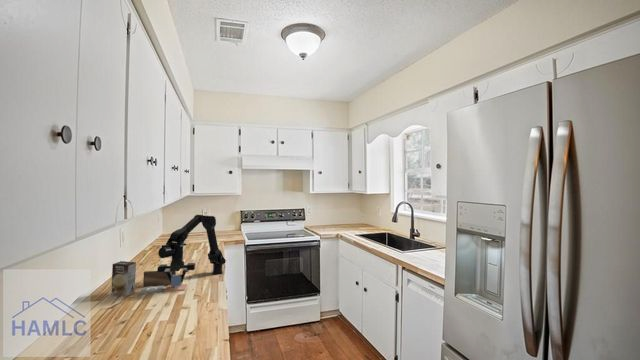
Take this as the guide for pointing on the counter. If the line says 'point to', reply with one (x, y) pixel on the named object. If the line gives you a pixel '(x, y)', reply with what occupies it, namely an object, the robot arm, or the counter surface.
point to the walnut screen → (156, 278)
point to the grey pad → (151, 289)
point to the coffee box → (123, 278)
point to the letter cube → (176, 280)
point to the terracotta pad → (176, 288)
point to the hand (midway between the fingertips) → (176, 282)
